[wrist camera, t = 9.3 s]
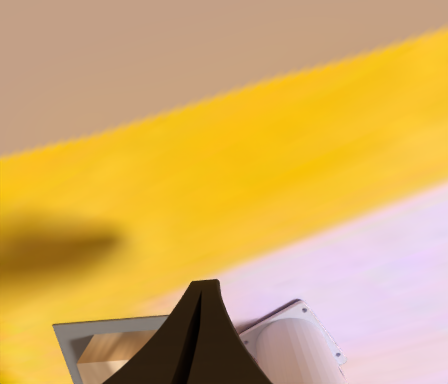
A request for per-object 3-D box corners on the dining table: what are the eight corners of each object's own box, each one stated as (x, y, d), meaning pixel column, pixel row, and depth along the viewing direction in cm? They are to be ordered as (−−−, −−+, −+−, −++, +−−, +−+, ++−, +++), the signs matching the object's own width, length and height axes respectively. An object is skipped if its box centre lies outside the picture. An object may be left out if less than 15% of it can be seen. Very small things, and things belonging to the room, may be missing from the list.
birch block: (92, 409, 24) (162, 405, 24) (76, 363, 22) (151, 358, 22) (107, 376, 27) (169, 372, 27) (94, 334, 25) (160, 329, 25)
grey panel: (176, 314, 25) (176, 316, 24) (188, 379, 27) (188, 381, 27) (53, 324, 25) (52, 325, 25) (76, 387, 28) (75, 389, 27)
